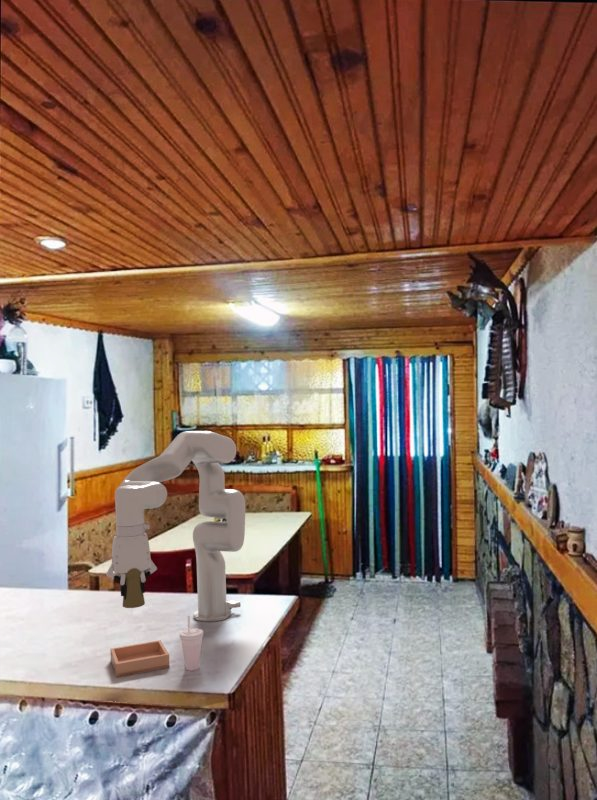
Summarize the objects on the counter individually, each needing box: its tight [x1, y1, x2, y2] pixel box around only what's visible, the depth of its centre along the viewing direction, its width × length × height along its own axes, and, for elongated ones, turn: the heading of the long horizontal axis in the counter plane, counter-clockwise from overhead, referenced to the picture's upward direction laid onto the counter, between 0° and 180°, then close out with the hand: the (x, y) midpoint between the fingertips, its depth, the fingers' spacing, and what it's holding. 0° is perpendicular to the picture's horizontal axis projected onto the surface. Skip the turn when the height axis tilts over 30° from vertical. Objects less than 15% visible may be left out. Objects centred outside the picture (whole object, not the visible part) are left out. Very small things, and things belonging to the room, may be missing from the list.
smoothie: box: [179, 615, 204, 671], centre depth 176 cm, size 6×6×14 cm
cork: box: [122, 568, 146, 609], centre depth 179 cm, size 6×6×11 cm
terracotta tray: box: [110, 639, 170, 678], centre depth 179 cm, size 14×12×4 cm
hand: (132, 596), depth 179 cm, fingers closed on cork, 3 cm apart
